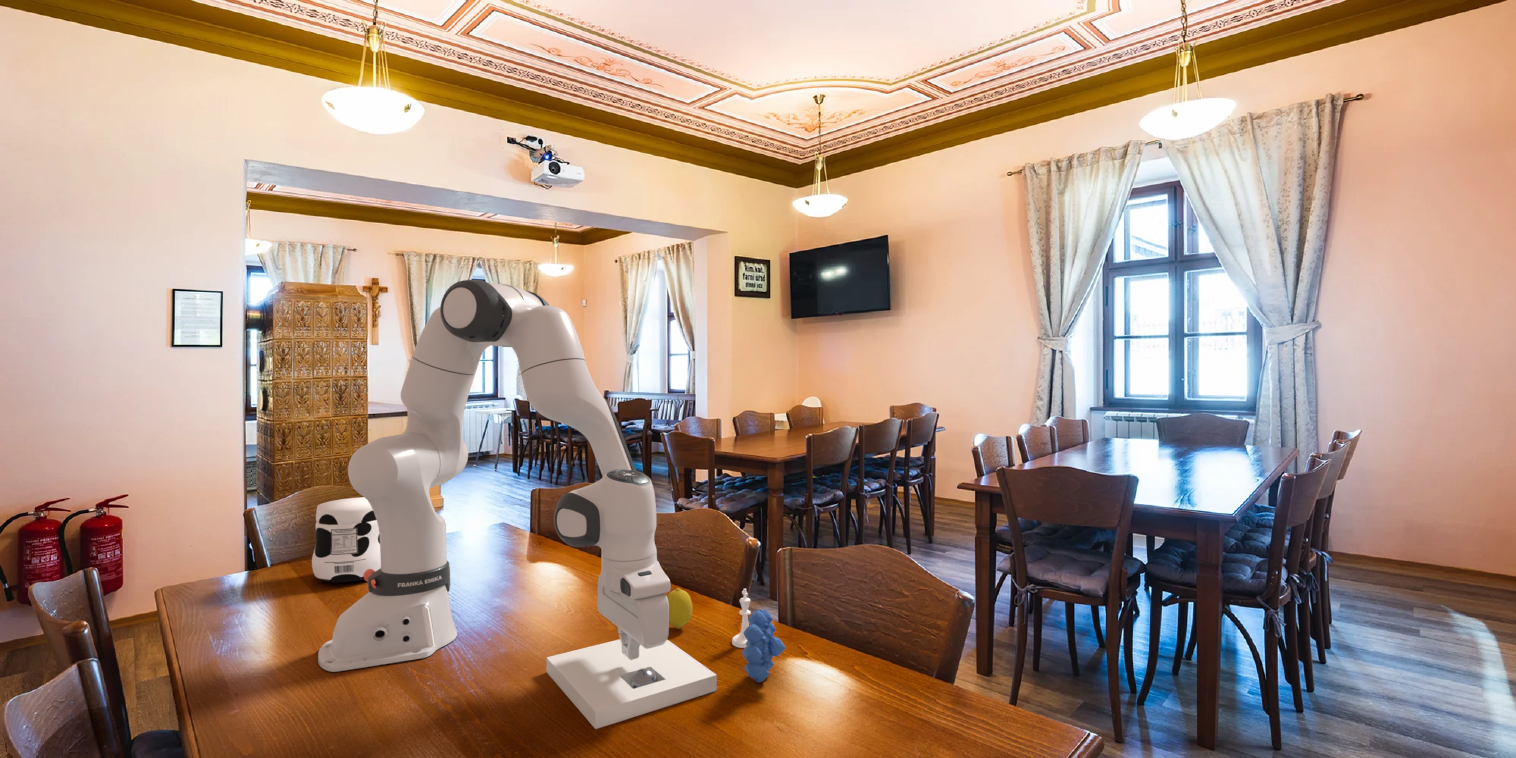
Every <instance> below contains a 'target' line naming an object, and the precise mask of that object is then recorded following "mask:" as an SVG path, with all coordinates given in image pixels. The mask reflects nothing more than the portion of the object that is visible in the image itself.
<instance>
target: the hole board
mask: <svg viewBox="0 0 1516 758" xmlns="http://www.w3.org/2000/svg"><path fill="white" fill-rule="evenodd" d="M545 662H546V673H547V675H548V676H549V677H550V678H551V679H552V681H554V682H555V684H556V685H557V686H558V687H559V689H560V690H561V691H562V692H563V693H564V694H565V696H567V698H568V699H569V700H570V701H571V702H572V704H573V705H574V706H575V707H576V709H578V711H579V712H580V713H581V714H582V715H583V717H584V718H585V719H586V720H587V721H588V722H589V724H591V726H592V727H593V728H594V729H595V730H598V729H601V728H604V727H606V726H610V725H614V724H616V723H620V722H623V721H626V720H629V719H632V718H634V717H638V716H642V715H644V714H647V713H650V712H651V713H652V712H653V711H657V710H660V709H664V708H667V707H670V706H673V705H676V704H679V703H681V702H686V701H688V700H691V699H694V698H698V697H700V696H704V695H707V694H711V693H713V692H717V691H718V687H717V685H718V684H717V683H718V680H717V679H718V677H717V674H716V673H715V672H713V671H712V670H710V668H708V667H707V666H705V665H704V664H702V663H701V662H699V661H698V660H696V659H695V658H694V657H692V656H691V655H690V654H688V653H687V652H685V651H684V650H682V649H681V648H680V647H678V646H677V645H676V644H675V643H673V642H671V641H670V640H668V639H667V640H666V642H665V644H663V645H661V646H657V647H653V648H649V649H646V648H644V647H643V646H642V645H640V647H639V657H638V658H636V659H633V660H630V659H629V658H627V657H626V656H625V655H624V654H623V653H622V643H621V641H620V638H619V639H615V640H611V641H607V642H603V643H600V644H594V645H590V646H588V647H583V648H579V649H574V650H570V651H567V652H562V653H559V654H554V655H551V656H547V657H546V661H545ZM642 668H647V669H650V670H652V671H653V672H654V673H655V675H656V678H657V682H655V683H652V684H648V685H645V686H642V687H638V688H635V689H633V688H632V687H631V679H632V677H633V675H634V673H635V672H636V671H638V670H639V669H642Z"/></svg>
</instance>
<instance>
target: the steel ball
mask: <svg viewBox="0 0 1516 758" xmlns="http://www.w3.org/2000/svg"><path fill="white" fill-rule="evenodd" d="M655 682H657V678H656V675H655V673H654V672H653V671H652V670H650V669H647V668H642V669H639V670H638V671H636V672H635V673H634V675H633V677H632V679H631V687H632V688H633V689H635V688H638V687H642V686H645V685H648V684H652V683H655Z"/></svg>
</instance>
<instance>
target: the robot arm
mask: <svg viewBox="0 0 1516 758" xmlns="http://www.w3.org/2000/svg"><path fill="white" fill-rule="evenodd" d="M490 346H493V347H502V348H505V347H506V348H512V349H513V350H514V352H515V354H516V357H517V360H518V365H519V371H520V375H521V381H522V384H523V388H524V389H523V390H524V393H525V395H526V398H527V400H528V402H529V404H530V406H531V407H532V408H533V410H535V411H536V412H538V413H539V414H540V415H541V416H543V417H545V418H546V419H548V420H551V421H554V422H557V423H561V424H563V425H566V426H569V427H571V428H573V429H575V430H576V431H578V432H579V433H580V434H582V435H583V436H584V437H585V438H586V440H587V441H588V442H589V444H590V446H591V449H592V452H593V454H594V458H595V460H596V462H597V464H598V468H599V470H600V473H601V475H602V477H601V478H600V479H599V480H597V481H596V482H594V483H591V484H589V485H585V486H583V487H581V488H576V489H574V490H571V491H569V492H567V493H564V494H563V495H562V496H560V498H559V500H557V503H556V504H555V508H554V513H553V523H554V524H553V525H554V528H555V531H556V533H557V536H558V537H559V539H561V541H562V542H564V543H565V544H566V545H568V546H569V547H571V548H585V547H592V546H593V547H594V546H597V547H599V548H600V549H601V556H600V557H601V572H600V573H599V575H598V580H597V581H598V582H597V593H596V594H597V595H596V606H597V610H598V613H599V614H600V615H601V616H603V617H604V618H605V619H607V620H608V621H610V623H612V624H613V625H614V626H616V627H617V633H618V636H619V639H620V641H621V643H622V653H623V654H624V655H625V656H626V657H627V658H629V659H630V660H633V659H636V658H638V657H639V647H640V645H642V646H643V647H644V648H646V649H649V648H653V647H657V646H661V645H663V644H665V642H666V640H668V637H669V626H670V624H669V603H668V598H667V593H670V592H671V580H670V578H669V576H668V575H667V574H666V573H665V571H664V570H663V568H662V566H661V565H660V562H659V561H658V555H657V554H658V553H657V546H656V544H655V543H656V542H655V533H656V529H657V505H656V503H657V502H656V501H657V500H656V493H655V489H654V485H653V482H652V480H651V478H650V477H649V476H648V475H646V474H645V473H643V472H641V471H638V470H637V469H636V467H635V464H634V461H633V458H632V456H631V453H630V451H629V448H628V445H627V443H626V440H625V437H624V434H623V432H622V429H621V427H620V424H619V422H618V420H617V419H618V418H617V416H616V415H615V412H614V410H613V408H612V406H611V404H610V403H609V401H608V399H607V398H605V396H604V395H602V393H601V392H600V391H599V390H598V387H597V386H596V384H595V382H594V380H593V378H592V375H591V373H590V370H589V368H588V364H587V359H586V356H585V351H584V350H583V346H582V343H581V340H580V337H579V335H578V332H577V330H576V328H575V325H574V323H573V320H572V319H571V317H570V316H569V314H568V313H567V312H566V311H565V310H564V309H562V308H560V307H558V306H553V305H550V304H549V303H548V302H547V301H546V300H545V299H544V298H543V297H542V296H540V295H538V294H536V293H535V292H533V291H530V290H524V289H522V288H520V287H517V286H514V285H510V284H505V283H501V284H500V283H496V282H487V281H485V280H481V279H464V280H459V281H457V282H455V283H453V284H452V285H450V286H449V287H448V288H447V289H446V291H445V293H444V294H443V295H442V299H441V302H440V306H439V307H437V308H436V309H434V310H433V312H432V313H431V315H430V316H429V318H428V320H427V322H426V324H425V326H423V329H422V331H421V334H420V336H419V338H418V340H417V343H416V345H415V348H414V351H413V353H412V356H411V359H410V362H409V366H408V368H407V371H406V375H405V378H404V381H403V384H402V387H401V389H400V400H401V402H402V404H403V405H404V407H406V410H407V411H406V412H407V420H406V421H407V422H406V428H405V430H404V432H403V433H401V434H395V435H389V436H388V435H387V436H383V437H379V438H377V439H375V440H373V441H370V442H368V443H367V444H365V445H362V446H361V447H359V448H358V449H357V450H355V452H353V454H352V455H351V457H350V459H349V462H348V467H347V473H348V479H349V482H350V484H351V486H352V488H353V489H354V490H355V491H356V493H358V494H359V495H361V496H362V497H365V498H366V499H367V500H368V502H369V503H370V505H371V507H372V509H373V511H374V514H375V517H376V520H377V523H378V528H379V535H380V557H381V568H380V569H379V570H377V571H376V572H375V571H374V570H373V569H368V570H366V571H365V572H364V574H365V575H363V576H364V581H366V582H367V585H368V588H367V590H368V592H367V593H365V595H363V596H362V597H361V598H359V599H357V601H355V603H353V604H352V605H351V606H350V607H348V608H347V609H345V611H343V612H342V613H341V614H340V616H339V617H338V619H337V620H336V623H335V626H334V629H333V633H332V639H330V640H327V641H326V642H325V643H323V644H322V646H321V647H320V648H319V650H318V654H317V663H318V665H319V666H320V668H321V669H323V670H324V671H327V672H332V673H335V672H343V671H349V670H350V671H351V670H355V669H356V670H357V669H363V668H368V667H375V666H380V665H381V666H382V665H387V664H394V663H401V662H406V661H407V662H408V661H413V660H419V659H420V660H421V659H425V658H428V657H429V656H431V655H432V654H434V653H435V652H436V651H437V650H439V649H441V648H442V647H445V646H446V645H448V644H450V643H452V642H453V641H454V640H455V639H456V638H457V637H458V630H457V628H456V624H455V622H454V618H453V614H452V609H451V602H450V601H451V600H450V595H449V592H450V590H451V589H450V588H451V567H450V562H449V561H448V559H447V553H448V550H447V547H448V546H447V523H446V519H444V517H443V516H442V515H440V514H439V513H438V512H436V509H435V507H434V506H433V502H432V499H431V496H430V489H431V488H434V487H437V486H441V485H444V484H445V483H447V482H449V481H450V480H452V479H454V478H455V477H456V476H457V475H459V474H460V473H462V471H463V470H464V469H465V467H466V465H467V463H468V459H469V450H468V446H467V444H466V442H465V440H464V439H463V420H464V413H465V409H466V404H467V402H468V398H469V394H470V393H471V389H472V386H473V383H474V380H475V376H476V373H477V372H478V371H477V370H478V367H479V363H480V360H481V357H482V355H483V353H484V352H485V351H486V349H488V347H490Z"/></svg>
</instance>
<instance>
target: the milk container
mask: <svg viewBox="0 0 1516 758" xmlns="http://www.w3.org/2000/svg"><path fill="white" fill-rule="evenodd" d="M311 567H312V568H311V569H312V572H313V575H314V576H315V578H316V579H318V580H320V581H322V582H326V583H350V582H351V583H352V582H353V583H354V582H359V581H365V579H364V576H363V575H365V574H364V572H365V571H366V570H368V569H373V570H374V571H375V572H376V571H377V570H379V569H380V568H381V557H380V535H379V528H378V523H377V520H376V517H375V514H374V511H373V509H372V507H371V505H370V503H369V502H368V500H367V499H366V498H365V497H364V496H362V497H351V498H342V499H335V500H330V501H325V502H323V503H319V504H317V507H316V512H315V546H314V550H313V554H312V557H311Z"/></svg>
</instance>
